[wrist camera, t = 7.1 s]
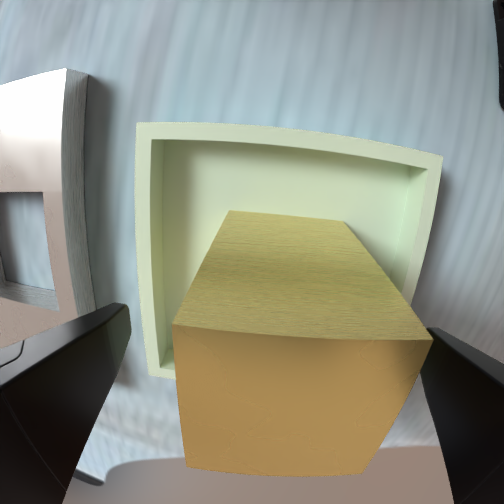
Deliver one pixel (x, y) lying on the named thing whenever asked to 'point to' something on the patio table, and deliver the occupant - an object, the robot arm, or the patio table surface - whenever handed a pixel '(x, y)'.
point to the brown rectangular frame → (47, 196)
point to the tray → (267, 203)
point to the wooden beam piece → (291, 350)
